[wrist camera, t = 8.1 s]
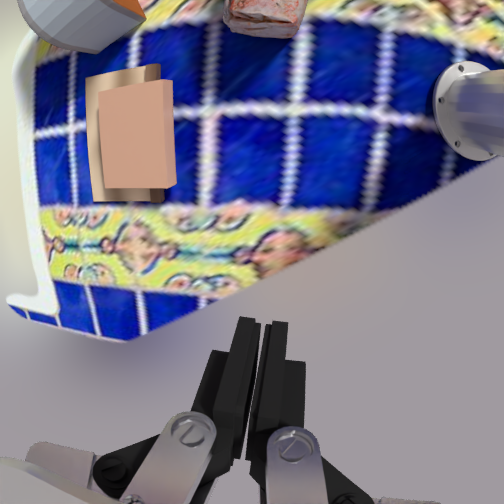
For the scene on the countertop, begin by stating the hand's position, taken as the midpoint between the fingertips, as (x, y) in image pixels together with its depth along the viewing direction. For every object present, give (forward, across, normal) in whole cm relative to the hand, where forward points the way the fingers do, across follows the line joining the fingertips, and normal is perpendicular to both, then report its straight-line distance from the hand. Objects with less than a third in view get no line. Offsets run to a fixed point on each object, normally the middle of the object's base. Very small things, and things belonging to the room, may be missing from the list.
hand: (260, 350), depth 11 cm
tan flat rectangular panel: (+27, +21, -4) cm, 35 cm away
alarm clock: (+27, +25, -24) cm, 44 cm away
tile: (+24, +13, -5) cm, 28 cm away
